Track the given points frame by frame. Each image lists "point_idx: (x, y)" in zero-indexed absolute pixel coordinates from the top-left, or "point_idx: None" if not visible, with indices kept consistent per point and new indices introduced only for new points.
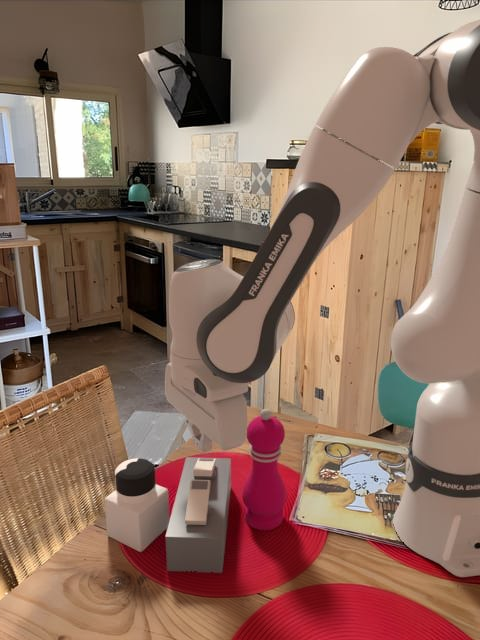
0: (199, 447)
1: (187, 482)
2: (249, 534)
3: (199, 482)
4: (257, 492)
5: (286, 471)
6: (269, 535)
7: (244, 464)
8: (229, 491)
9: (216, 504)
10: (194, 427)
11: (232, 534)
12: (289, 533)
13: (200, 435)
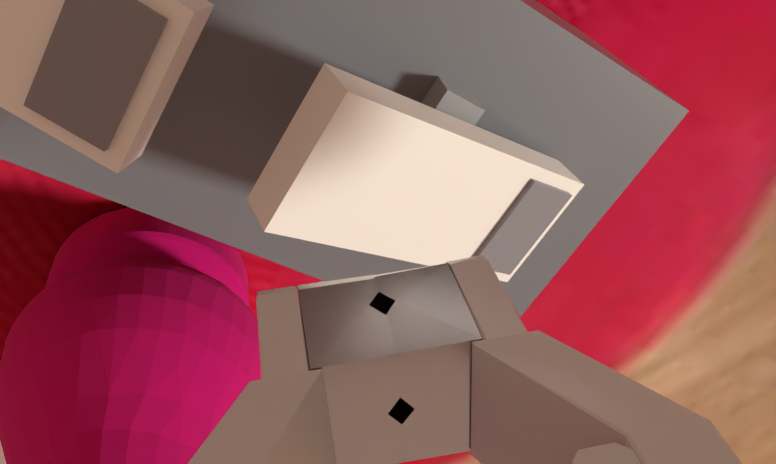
0: (324, 295)
1: (409, 8)
2: (55, 182)
3: (116, 73)
4: (35, 385)
5: None
6: (17, 261)
7: (557, 338)
8: None
9: None
10: (571, 438)
11: None
12: (5, 338)
13: (459, 403)
